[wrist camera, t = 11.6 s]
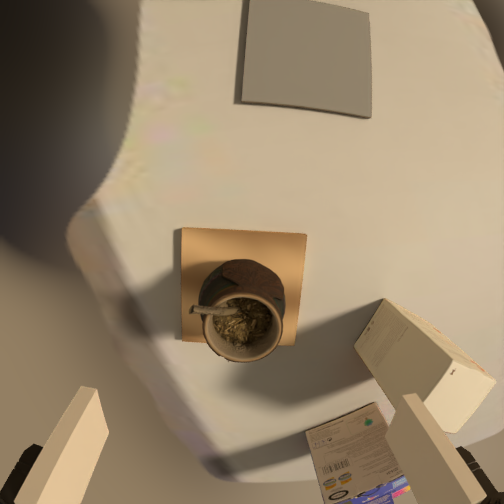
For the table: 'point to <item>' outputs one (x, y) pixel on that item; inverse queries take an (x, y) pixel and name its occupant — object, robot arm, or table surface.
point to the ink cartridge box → (356, 459)
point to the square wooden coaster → (240, 247)
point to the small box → (422, 365)
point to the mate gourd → (241, 310)
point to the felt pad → (308, 57)
